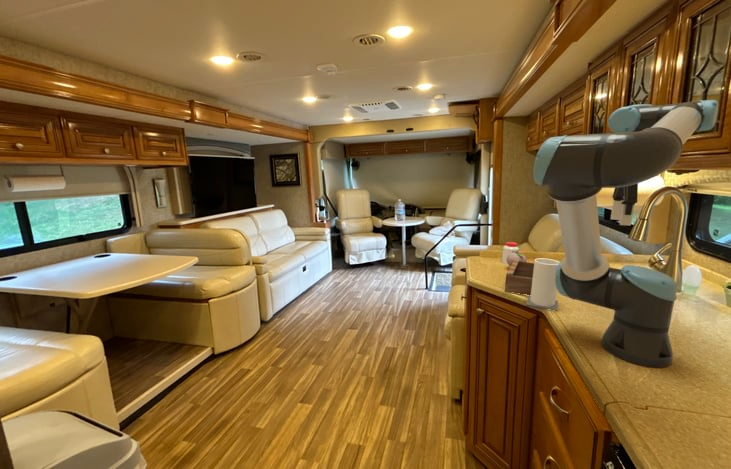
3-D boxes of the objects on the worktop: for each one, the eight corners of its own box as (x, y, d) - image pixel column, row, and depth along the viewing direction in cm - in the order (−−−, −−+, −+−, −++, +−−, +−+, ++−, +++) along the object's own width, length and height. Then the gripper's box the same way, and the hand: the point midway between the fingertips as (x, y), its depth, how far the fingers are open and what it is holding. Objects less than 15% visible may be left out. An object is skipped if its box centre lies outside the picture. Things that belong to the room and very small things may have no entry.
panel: (557, 311, 117) (557, 310, 117) (526, 305, 122) (526, 304, 122) (557, 302, 125) (557, 300, 125) (528, 296, 130) (528, 295, 130)
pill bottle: (500, 263, 177) (502, 243, 174) (503, 260, 183) (505, 240, 181) (515, 265, 172) (518, 245, 170) (518, 262, 178) (520, 242, 176)
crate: (548, 299, 128) (551, 280, 126) (504, 291, 136) (506, 273, 134) (550, 280, 150) (552, 263, 148) (512, 274, 158) (514, 258, 156)
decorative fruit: (501, 267, 169) (503, 248, 167) (515, 266, 171) (517, 247, 169) (514, 273, 160) (516, 253, 158) (528, 271, 162) (530, 252, 160)
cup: (551, 308, 118) (557, 265, 115) (527, 302, 123) (531, 261, 120) (557, 302, 124) (562, 261, 121) (533, 296, 129) (538, 256, 126)
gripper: (659, 154, 93) (645, 229, 97) (634, 157, 115) (624, 218, 119) (626, 155, 96) (614, 226, 100) (608, 158, 118) (599, 216, 122)
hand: (619, 222), depth 110 cm, fingers open, 13 cm apart
